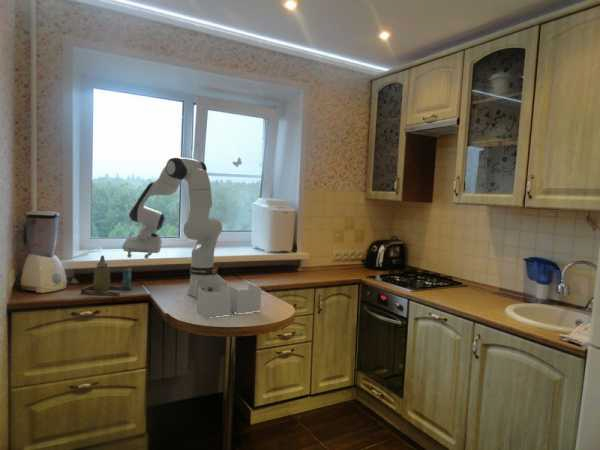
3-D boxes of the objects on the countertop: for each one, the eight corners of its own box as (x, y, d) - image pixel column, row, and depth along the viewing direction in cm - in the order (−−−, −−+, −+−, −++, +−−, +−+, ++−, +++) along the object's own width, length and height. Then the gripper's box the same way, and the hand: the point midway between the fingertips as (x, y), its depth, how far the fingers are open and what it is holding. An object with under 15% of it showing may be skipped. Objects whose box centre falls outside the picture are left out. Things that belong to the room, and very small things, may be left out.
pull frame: (132, 288, 207) (133, 268, 206) (118, 295, 192) (118, 274, 191) (98, 286, 208) (98, 266, 207) (80, 293, 193) (81, 272, 192)
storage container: (205, 319, 163) (206, 293, 162) (196, 312, 172) (197, 287, 171) (260, 313, 176) (261, 288, 175) (249, 306, 185) (250, 283, 184)
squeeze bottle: (114, 290, 201) (115, 255, 200) (100, 294, 194) (101, 257, 193) (103, 288, 205) (103, 254, 204) (89, 291, 197) (89, 255, 196)
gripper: (125, 233, 223) (116, 252, 214) (161, 235, 223) (154, 254, 213) (129, 240, 228) (120, 259, 219) (164, 242, 227) (157, 261, 218)
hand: (137, 257), depth 216 cm, fingers open, 8 cm apart
